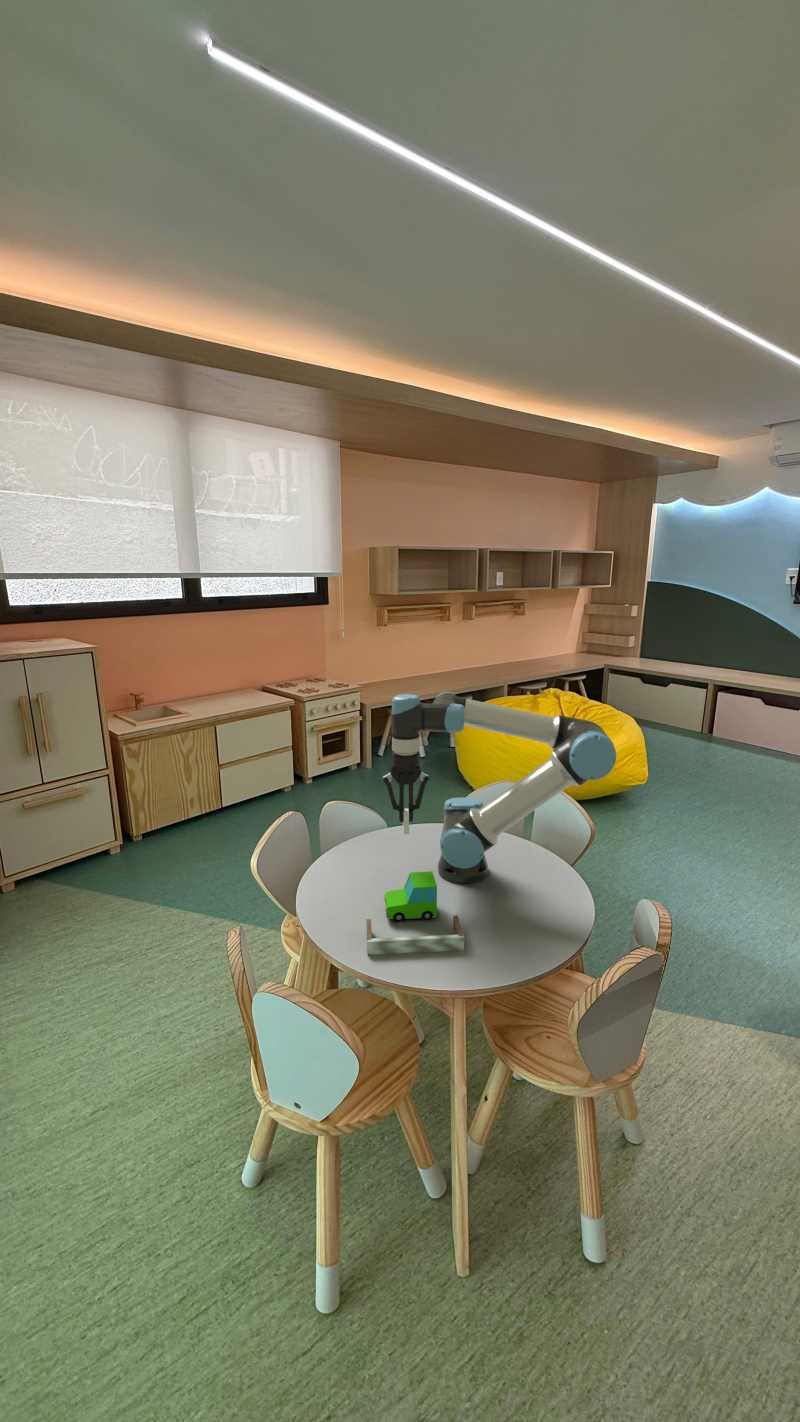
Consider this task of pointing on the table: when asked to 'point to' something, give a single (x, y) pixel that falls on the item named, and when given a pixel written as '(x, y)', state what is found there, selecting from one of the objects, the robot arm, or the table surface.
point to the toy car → (413, 898)
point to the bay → (416, 942)
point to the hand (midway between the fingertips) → (406, 832)
